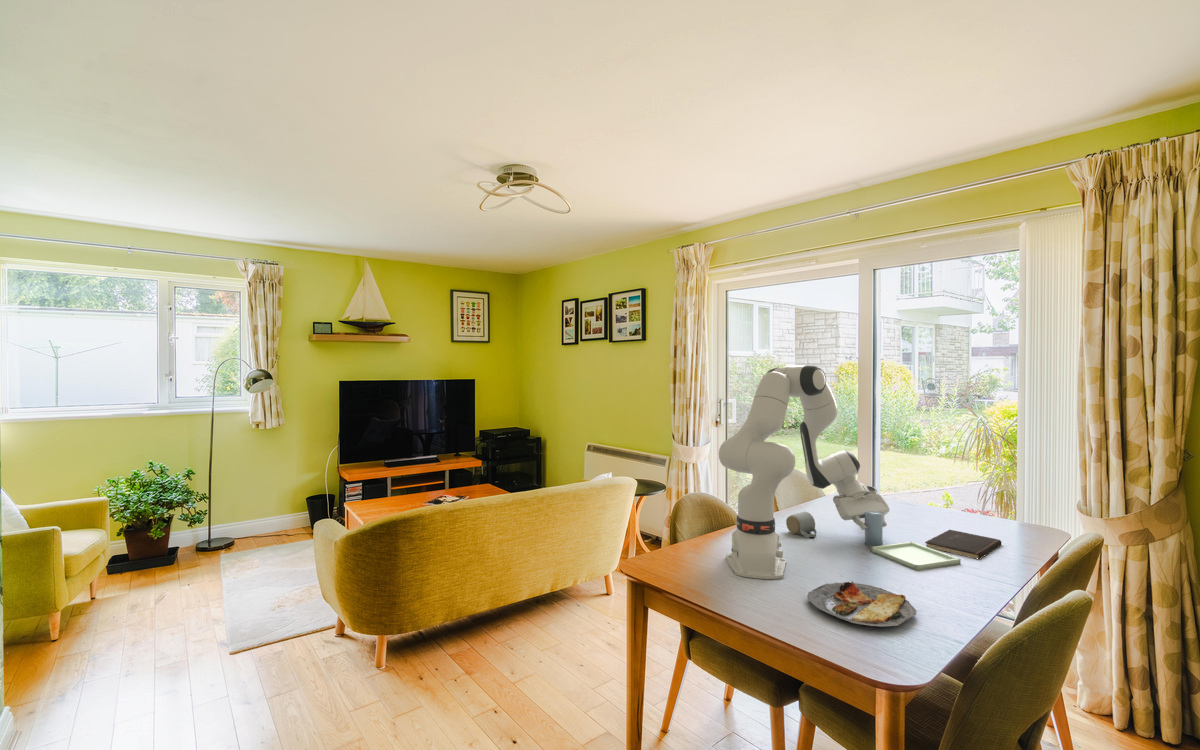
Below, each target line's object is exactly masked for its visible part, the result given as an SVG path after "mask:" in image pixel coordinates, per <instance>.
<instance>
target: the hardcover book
mask: <svg viewBox="0 0 1200 750" xmlns="http://www.w3.org/2000/svg"><path fill="white" fill-rule="evenodd" d="M924 543H925V547H928V548H931V549H934V550H936V551H940V552H945V551H947V553H949V552H951V553H950V554H954V553H955V555H958V554H960V555H959V556H962V555H964V556H963V557H966V556H969V557H968V558H971V557H974V558H973V559H975V558H978V559H979V560H980V558H981V557H982V558H984V557H985V556H987V555H989V554H990V553H992V552H993V551H994V550H996V549H997V548H999V547H1000V545H1001V546H1002V540H1001V539H998V538H993V537H988V536H985V535H983V536H982V535H980V534H979V535H978V534H973V533H969V532H965V531H964V532H963V531H958V530H954V529H948V530H946V531H944V532H942V533H940V534H939V535H935V537H932V538H930V539H928V540H927V541H925V542H924ZM998 546H999V547H998ZM995 548H996V549H995ZM992 550H993V551H992ZM989 552H990V553H989ZM986 554H987V555H986ZM984 555H985V556H984ZM983 556H984V557H983ZM982 558H981V559H982ZM978 559H977V560H978Z"/></svg>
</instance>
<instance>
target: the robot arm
mask: <svg viewBox="0 0 1200 750" xmlns="http://www.w3.org/2000/svg"><path fill="white" fill-rule="evenodd" d="M790 398H799V399H800V403H801V406H802V409H803V419H802V422H801V423H800V425H799V431H800V439H801V445H802V450H803V455H804V456H803V457H804V461H805V462H804V463H805V474H806V478H807V480H808V482H809V483H810V485H811V486H813V487H815V488H817V489H822V490H823V489H826V488H827V487H829V486H831V485H833V486H834V487H835V489H836V492H837V495H834V496H833V498H832V502H833V503H834V505H835V508H836V511H837V512H838V515H839V516H840V519H842V520H844V521H851V520H852V521H853V522H854V524H856V525H857V526H859V528H860V529H861V530H864V531H865V529H867V528H868V526H867V524H866V523H865V522H863V521H862V520H861V519H865V512H870V511H876V512H880V513H882V514H883V528H885V527H887V522H886V521H885V520H886V518H885V516H886V515H887V514H889V512H890V507H889V504H888V503H887V502H886V500H885V499H884V498H883V496H882V495H881V494H879V493H878V489H877V487H874V486H871V485H868V484H865V483H861V481H860V480H859V479H858V478H857V476H858V474H859V471H860V467H861V464H860V462H859V460H858V459H857V457H856V456H855V455H854V453H853V452H851V451H849V450H844V449H843V450H840V451H837V452H834V453H830V454H828V455H827V456H825V457H823V458H820V459H819V456H818V451H817V439H818V438H819V436H820V435H821V434H822V433H823V432H825V430H826V429H827V428H829V427H830V426H831V425H832V424H833V423H834V421H835V420H836V418H837V415H838V413H839V411H838V406H837V402H836V399H835V397H834V395H833V391H832V389H831V387H830V385H829V384H828V382H827V376H826V373H825V372H824V370H823V369H822V368H821V367H820V366H819V365H816V364H815V365H814V364H806V365H804V364H802V365H801V364H800V365H786V366H780V367H774V368H771V369H769V370H768V371H767V372H766V373H765V374H764V375H763V376H762V378H761V380H760V382H759V384H758V386H757V387H756V390H755V394H754V396H753V398H752V399H753V400H752V402H751V407H750V410H749V413H748V415H747V417H746V420H745V421H744V423H743V425H742V426H741V427H740V428H739V430H737V432H736V433H735V434H734V435H732V436H731V437H729V438H728V439H726V440H724V441H723V442H722V444H721V445H720V447H719V449H718V460H719V461H720V463H721V466H723V467H724V468H726V469H729V470H731V471H734V472H737V473H743V474H749V475H752V478H751V482H750V484H748V485H745V486H743V487H742V488H741V489H740V490H739V491H738V494H737V515H736V519H735V522H736V529H734V531H732V533H731V553H727V554H726V555H725V559H726V562H727V564H728V565H729V566H730V568H731V570H732V572H733V573H734V574H735V575H737V576H739V577H745V578H749V579H750V578H752V579H761V580H777V579H778V580H779V579H783V578H784V576H785V571H786V566H787V559H786V558H784V555H783V554H784V553H783V552H784V551H783V550H782V549H780V548H782V542H780V535H779V534H778V533H777V532H776V520H775V517H774V507H775V506H774V505H775V494H776V492H777V488H778V486H779V485H780V484H781V482H782V481H783V480H784V479H785V478H787V477H788V476H790V475H791V474H792V472H793V471H794V469H795V467H796V457H795V454H794V451H793V450H792V448H791V447H789V446H787V445H784V444H781V443H778V442H773V441H766V440H767V439H768V438H769V437H770V436H772V435H774V434H776V433H778V432H780V430H781V429H782V428H783V424H784V421H785V417H786V413H787V409H788V406H789V401H790Z"/></svg>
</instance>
